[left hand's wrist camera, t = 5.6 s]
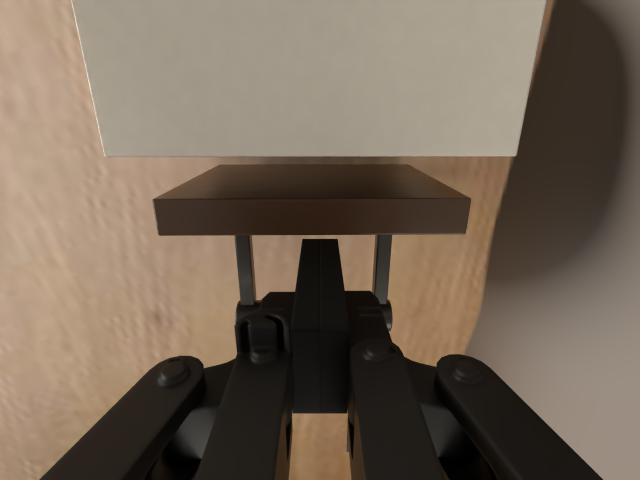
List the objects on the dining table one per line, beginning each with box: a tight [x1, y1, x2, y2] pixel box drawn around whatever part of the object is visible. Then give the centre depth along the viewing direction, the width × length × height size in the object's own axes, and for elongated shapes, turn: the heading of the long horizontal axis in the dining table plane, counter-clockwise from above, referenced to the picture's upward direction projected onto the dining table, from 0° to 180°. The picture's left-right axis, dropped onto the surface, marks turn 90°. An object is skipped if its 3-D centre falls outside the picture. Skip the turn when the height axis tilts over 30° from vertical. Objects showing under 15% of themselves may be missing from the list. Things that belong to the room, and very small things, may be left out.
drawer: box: [153, 164, 471, 331], centre depth 13 cm, size 23×10×8 cm, turn 0°
